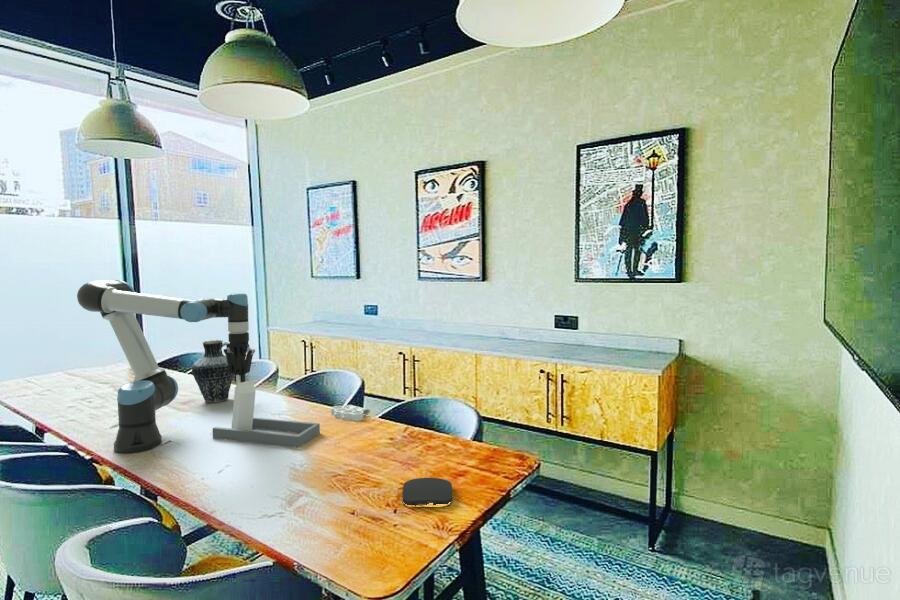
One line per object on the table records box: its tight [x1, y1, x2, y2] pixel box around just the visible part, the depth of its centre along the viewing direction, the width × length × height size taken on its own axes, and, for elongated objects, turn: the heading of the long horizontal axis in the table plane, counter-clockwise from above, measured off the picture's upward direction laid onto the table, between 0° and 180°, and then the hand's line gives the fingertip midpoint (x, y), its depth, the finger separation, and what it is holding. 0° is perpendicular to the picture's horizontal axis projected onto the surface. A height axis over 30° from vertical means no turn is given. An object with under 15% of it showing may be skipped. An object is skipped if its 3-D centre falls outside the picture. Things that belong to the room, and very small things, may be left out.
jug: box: [191, 339, 235, 403], centre depth 244 cm, size 21×19×30 cm
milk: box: [231, 380, 256, 431], centre depth 196 cm, size 6×6×22 cm
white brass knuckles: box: [330, 404, 371, 422], centre depth 223 cm, size 3×18×15 cm
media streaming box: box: [402, 477, 453, 506], centre depth 146 cm, size 15×15×3 cm
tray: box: [212, 416, 321, 448], centre depth 196 cm, size 16×38×4 cm, turn 76°
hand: (240, 390), depth 197 cm, fingers closed
